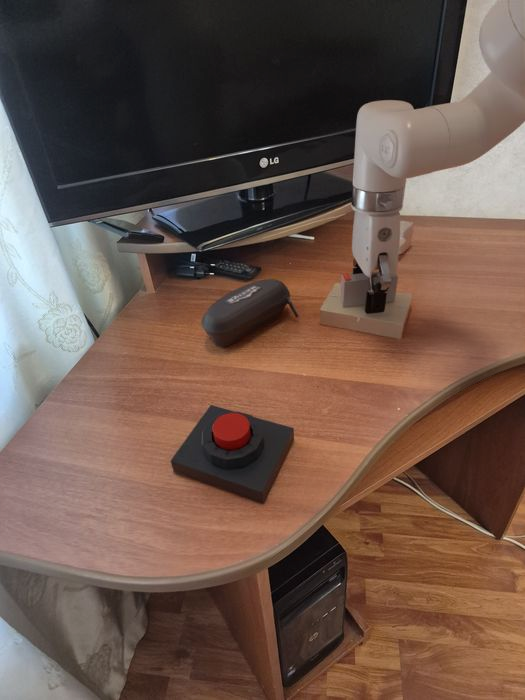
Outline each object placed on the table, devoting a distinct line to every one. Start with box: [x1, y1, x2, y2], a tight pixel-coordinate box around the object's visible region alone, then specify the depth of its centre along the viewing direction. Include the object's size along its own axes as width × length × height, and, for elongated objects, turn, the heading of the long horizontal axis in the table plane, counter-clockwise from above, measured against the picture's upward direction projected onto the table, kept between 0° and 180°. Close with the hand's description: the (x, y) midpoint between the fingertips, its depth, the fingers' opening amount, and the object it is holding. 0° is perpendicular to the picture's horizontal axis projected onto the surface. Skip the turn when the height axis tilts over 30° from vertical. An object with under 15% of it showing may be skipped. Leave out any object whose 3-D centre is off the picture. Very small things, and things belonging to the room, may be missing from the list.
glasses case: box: [201, 278, 299, 348], centre depth 75 cm, size 18×10×8 cm, turn 135°
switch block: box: [170, 404, 295, 504], centre depth 54 cm, size 12×10×4 cm
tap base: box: [318, 282, 414, 340], centre depth 77 cm, size 14×13×3 cm
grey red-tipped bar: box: [340, 271, 399, 307], centre depth 74 cm, size 9×2×5 cm, turn 96°
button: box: [213, 413, 251, 450], centre depth 52 cm, size 4×4×2 cm
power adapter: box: [399, 219, 414, 255], centre depth 94 cm, size 11×5×6 cm, turn 143°
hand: (367, 298), depth 76 cm, fingers open, 7 cm apart
